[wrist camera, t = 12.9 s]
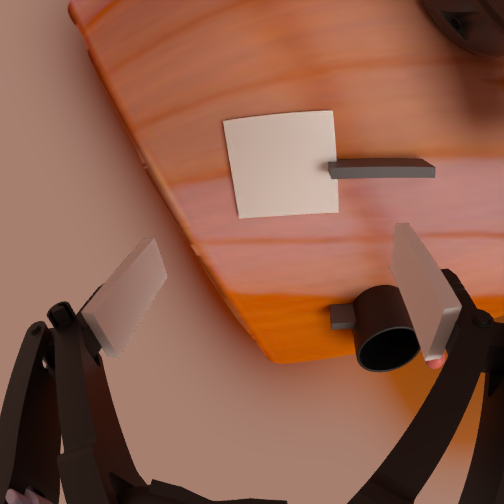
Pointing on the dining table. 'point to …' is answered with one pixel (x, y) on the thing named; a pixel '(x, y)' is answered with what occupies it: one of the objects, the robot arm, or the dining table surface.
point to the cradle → (375, 168)
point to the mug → (383, 330)
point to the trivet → (283, 163)
